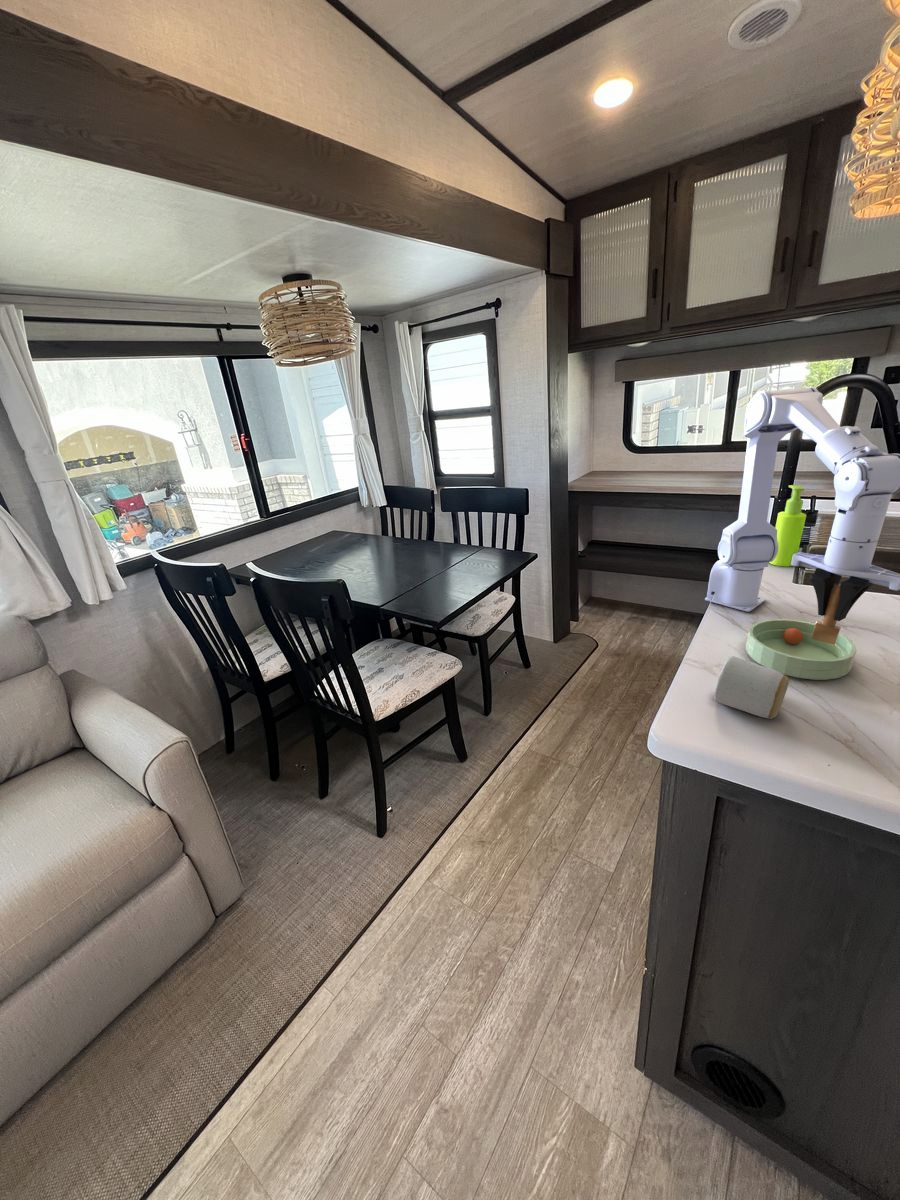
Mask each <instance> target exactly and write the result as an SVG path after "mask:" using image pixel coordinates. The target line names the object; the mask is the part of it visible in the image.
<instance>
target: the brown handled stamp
mask: <svg viewBox="0 0 900 1200" xmlns="http://www.w3.org/2000/svg"><path fill="white" fill-rule="evenodd" d="M839 597H840V582H839V583H835V584H834V585H833V588H832V591H831V595H830V598H829V601H828V604H827V608H826V611H825V614H824V616H822V617H823V619H822V620H821V621H819V620H817V621H815V623H814V624H815V628H814V631H813V634H812V637H811V639H814V640H818V641H822V642H825V643H829V644H833V645H835V643H836V640H837V637H838V634H839V633H840V632H841V627H842V626H840V625H837V622H838V621H836V620H834V616H835V612H836V609H837V606H838V603H839Z"/></svg>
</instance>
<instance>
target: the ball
mask: <svg viewBox="0 0 900 1200" xmlns="http://www.w3.org/2000/svg"><path fill="white" fill-rule="evenodd" d="M783 638H784V640H785V641H786V642H787V643H789V644H798V643H800V642H801V641H802V640H803V634H802V632H801V631H800V630H798V629H795V628H790V629H787V630H786V631H785V632H784V634H783Z"/></svg>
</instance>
